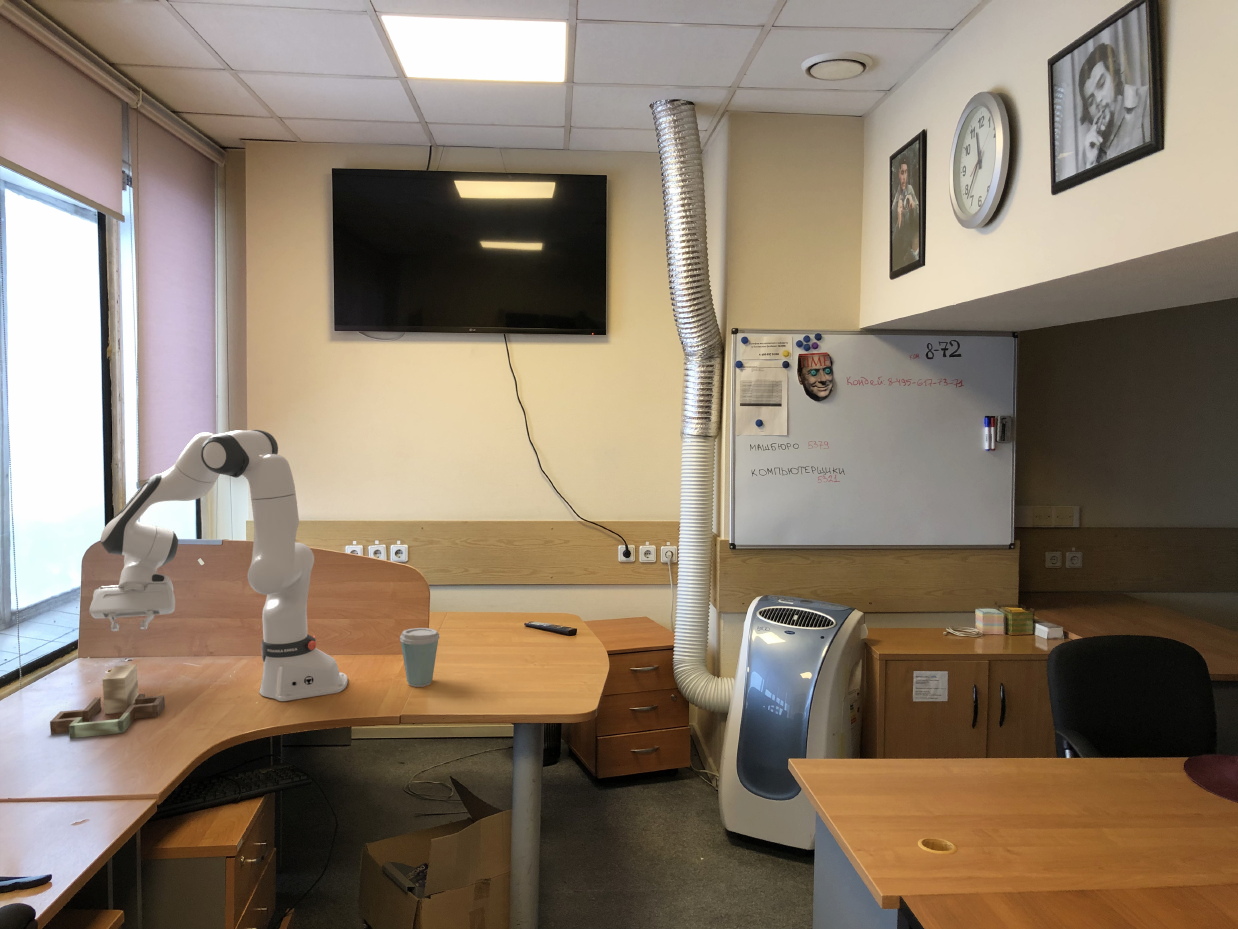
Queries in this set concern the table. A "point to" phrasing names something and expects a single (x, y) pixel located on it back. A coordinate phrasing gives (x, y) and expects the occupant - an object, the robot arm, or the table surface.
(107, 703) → the beech block
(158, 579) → the robot arm
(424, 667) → the disposable coffee cup
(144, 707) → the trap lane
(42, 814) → the table surface
